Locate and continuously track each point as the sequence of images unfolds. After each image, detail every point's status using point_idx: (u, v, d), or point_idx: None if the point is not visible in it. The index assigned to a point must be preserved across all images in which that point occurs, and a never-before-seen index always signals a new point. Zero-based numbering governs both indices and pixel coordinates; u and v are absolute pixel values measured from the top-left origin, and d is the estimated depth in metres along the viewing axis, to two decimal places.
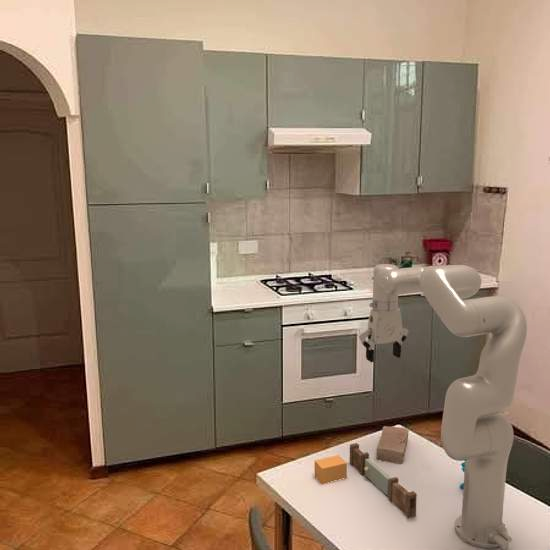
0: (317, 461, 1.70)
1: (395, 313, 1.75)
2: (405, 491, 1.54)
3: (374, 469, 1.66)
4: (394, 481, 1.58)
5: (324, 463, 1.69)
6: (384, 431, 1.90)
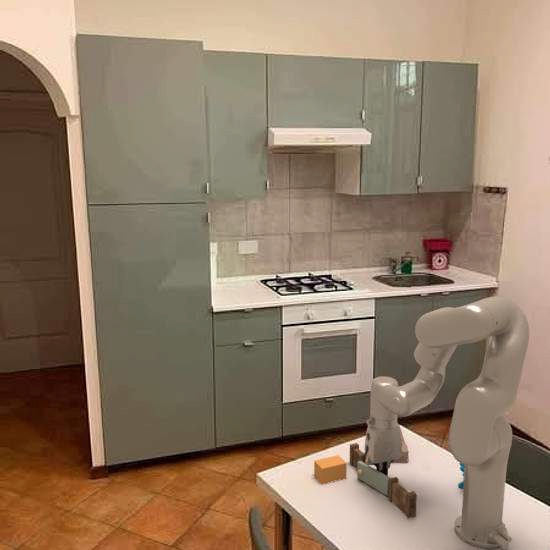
0: (317, 461, 1.70)
1: (394, 430, 1.62)
2: (405, 491, 1.54)
3: (369, 471, 1.65)
4: (394, 481, 1.58)
5: (324, 464, 1.69)
6: None
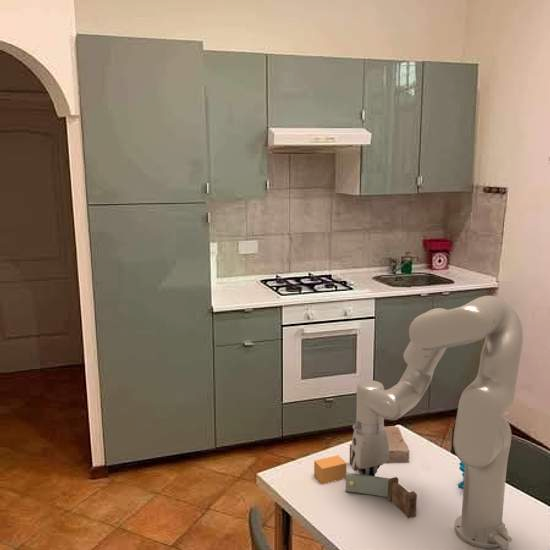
0: (317, 461, 1.70)
1: (381, 435, 1.60)
2: (405, 491, 1.54)
3: (363, 479, 1.61)
4: (394, 481, 1.58)
5: (324, 464, 1.69)
6: None
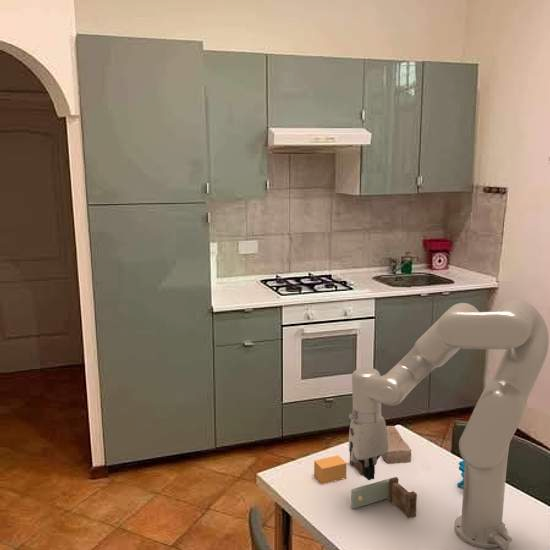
0: (317, 461, 1.70)
1: (379, 424, 1.54)
2: (405, 491, 1.54)
3: (369, 489, 1.56)
4: (394, 481, 1.58)
5: (324, 464, 1.69)
6: None
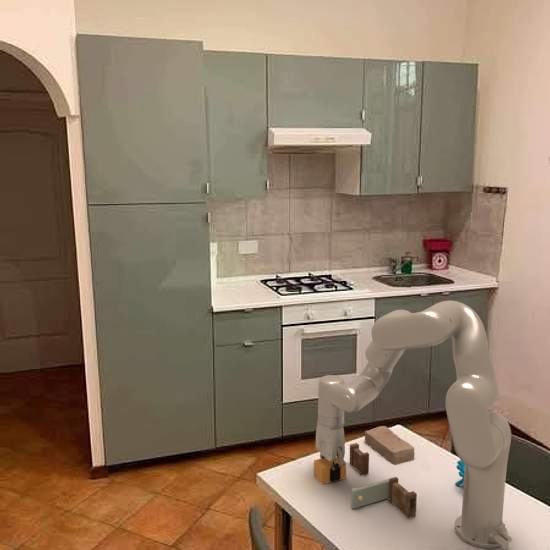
0: (316, 461, 1.70)
1: (326, 430, 1.65)
2: (405, 491, 1.54)
3: (369, 489, 1.56)
4: (394, 481, 1.58)
5: (323, 463, 1.69)
6: (374, 435, 1.87)
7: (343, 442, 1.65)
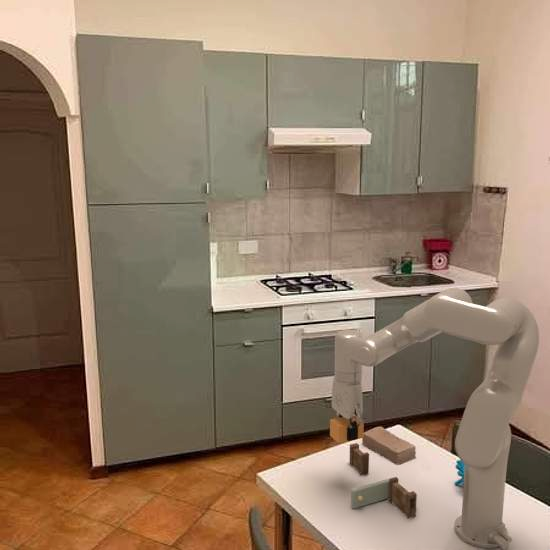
0: (333, 420, 1.64)
1: (343, 386, 1.59)
2: (405, 491, 1.54)
3: (369, 489, 1.56)
4: (394, 481, 1.58)
5: (340, 422, 1.63)
6: (373, 437, 1.86)
7: (361, 399, 1.58)
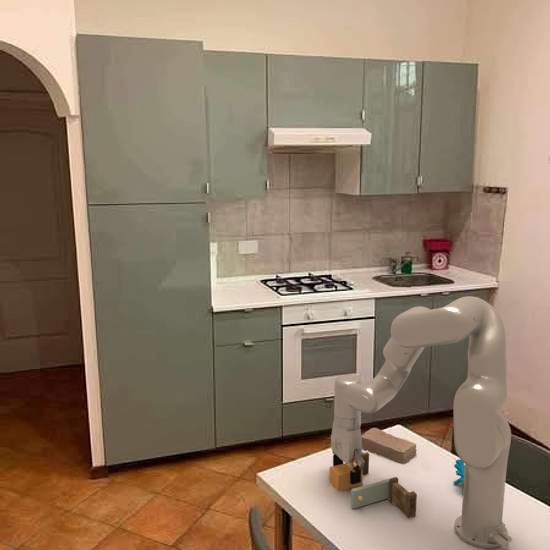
0: (332, 467, 1.67)
1: (342, 431, 1.61)
2: (405, 491, 1.54)
3: (369, 489, 1.56)
4: (394, 481, 1.58)
5: (339, 470, 1.66)
6: (372, 439, 1.85)
7: (360, 443, 1.61)
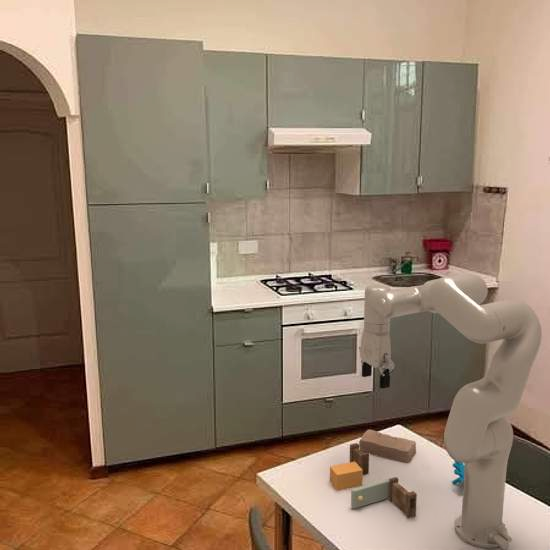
0: (332, 467, 1.67)
1: (372, 337, 1.68)
2: (405, 491, 1.54)
3: (369, 489, 1.56)
4: (394, 481, 1.58)
5: (339, 470, 1.66)
6: (373, 441, 1.83)
7: (389, 349, 1.68)
